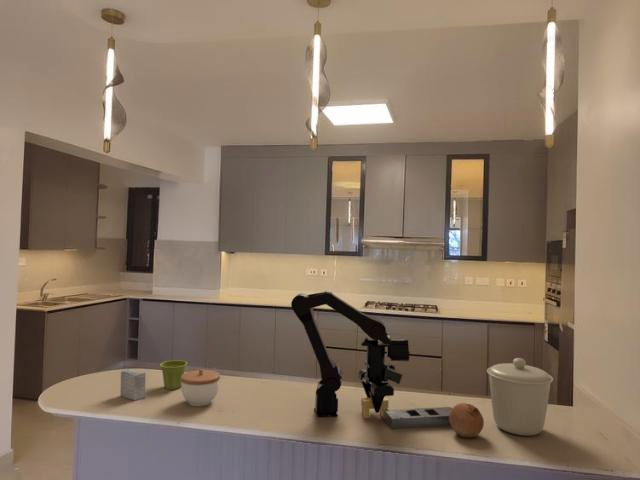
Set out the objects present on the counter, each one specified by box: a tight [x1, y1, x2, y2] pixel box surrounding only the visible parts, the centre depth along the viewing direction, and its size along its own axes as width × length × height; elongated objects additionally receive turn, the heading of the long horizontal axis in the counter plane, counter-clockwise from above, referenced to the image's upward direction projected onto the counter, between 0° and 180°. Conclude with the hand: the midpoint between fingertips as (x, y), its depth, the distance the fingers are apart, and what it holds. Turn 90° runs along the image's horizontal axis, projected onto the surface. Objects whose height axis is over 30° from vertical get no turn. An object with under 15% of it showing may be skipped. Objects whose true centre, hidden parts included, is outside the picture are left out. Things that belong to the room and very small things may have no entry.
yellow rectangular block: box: [360, 396, 389, 419], centre depth 140 cm, size 8×3×5 cm, turn 100°
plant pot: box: [159, 359, 188, 391], centre depth 163 cm, size 9×9×9 cm
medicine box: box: [120, 368, 147, 401], centre depth 152 cm, size 8×4×9 cm, turn 58°
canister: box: [486, 357, 554, 437], centre depth 133 cm, size 18×18×21 cm
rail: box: [383, 406, 453, 430], centre depth 136 cm, size 22×7×3 cm, turn 100°
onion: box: [449, 402, 485, 438], centre depth 128 cm, size 10×9×10 cm
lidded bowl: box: [181, 368, 221, 407], centre depth 148 cm, size 13×13×11 cm
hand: (374, 409), depth 141 cm, fingers open, 5 cm apart
